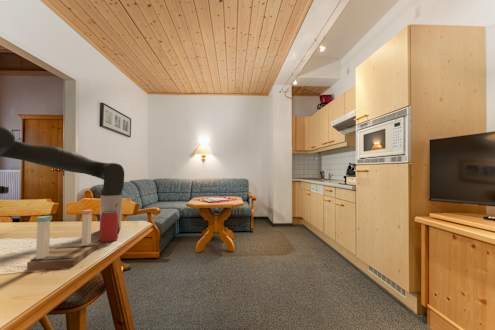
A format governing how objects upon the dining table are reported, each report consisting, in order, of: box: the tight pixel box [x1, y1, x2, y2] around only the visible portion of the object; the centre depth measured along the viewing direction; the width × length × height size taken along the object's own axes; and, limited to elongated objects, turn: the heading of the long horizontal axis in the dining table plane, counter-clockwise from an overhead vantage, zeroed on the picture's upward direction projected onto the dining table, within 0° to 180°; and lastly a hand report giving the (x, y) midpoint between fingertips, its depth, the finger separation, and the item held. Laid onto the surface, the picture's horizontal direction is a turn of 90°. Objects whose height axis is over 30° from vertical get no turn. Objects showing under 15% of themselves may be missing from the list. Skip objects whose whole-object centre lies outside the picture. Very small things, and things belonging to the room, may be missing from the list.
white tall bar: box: [80, 209, 94, 246], centre depth 86 cm, size 4×2×12 cm, turn 11°
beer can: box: [99, 211, 119, 243], centre depth 101 cm, size 7×7×12 cm
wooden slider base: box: [26, 242, 99, 271], centre depth 80 cm, size 18×12×2 cm, turn 11°
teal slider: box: [35, 215, 53, 259], centre depth 73 cm, size 4×2×12 cm, turn 11°
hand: (6, 189), depth 72 cm, fingers closed
